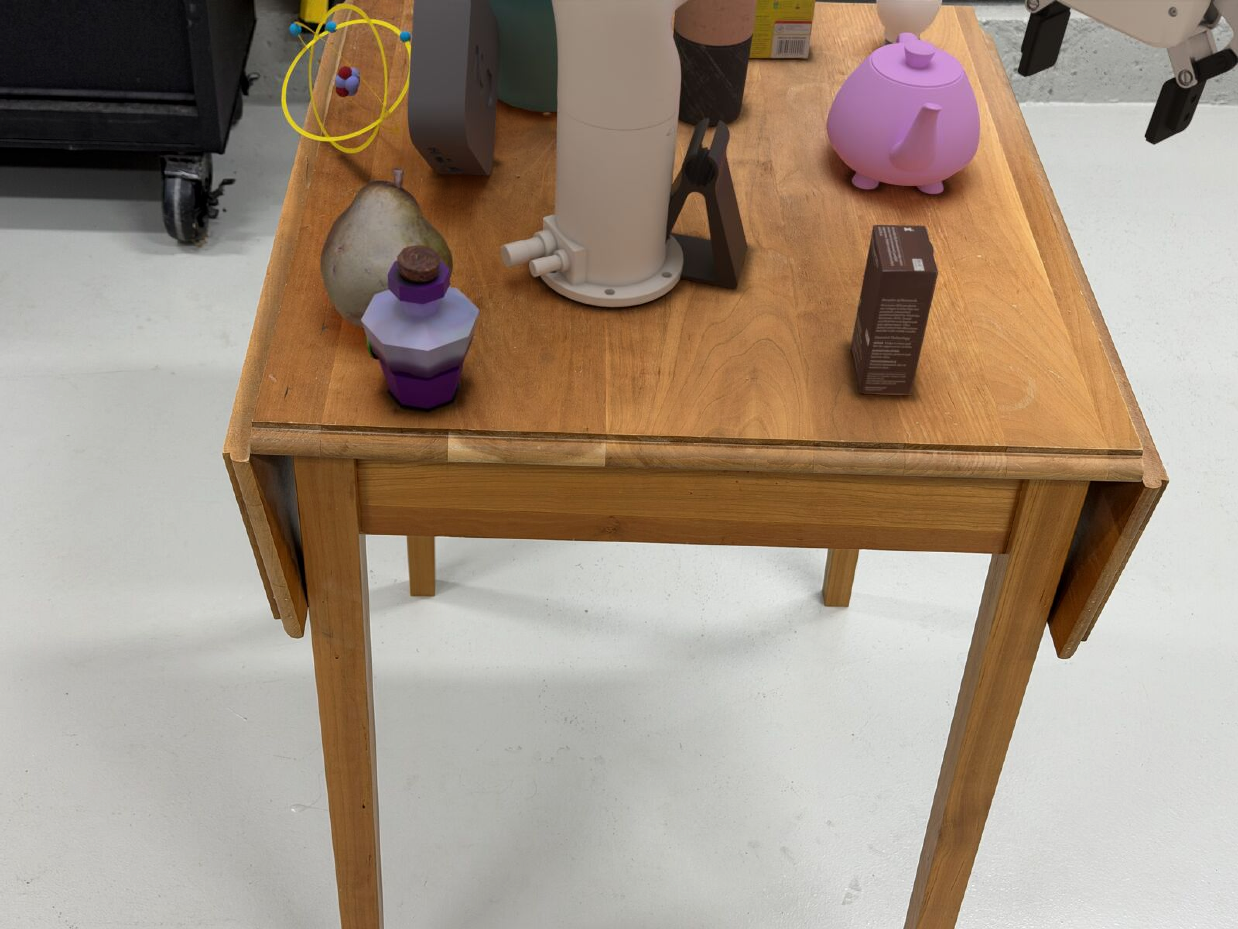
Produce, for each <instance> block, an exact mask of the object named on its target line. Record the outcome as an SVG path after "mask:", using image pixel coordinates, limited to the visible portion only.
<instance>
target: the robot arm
mask: <svg viewBox="0 0 1238 929" xmlns="http://www.w3.org/2000/svg"><path fill="white" fill-rule="evenodd" d="M687 1H688V0H552V5H553V10H554V16H555V23H556V33H557V48H558V86H557V99H558V106H557V112H556V148H555V150H556V152H555V157H556V158H555V186H554V188H555V191H554V193H555V196H554V213H553V214H549V215H546V216H543V218H542V230H539V231H536V232H534V234H533V236H532V237H530V238H528V239H524V240H523V239H520V240H517V241H516V240H515V241H513V242H509V243H505V244H503V245H501V246H500V257H501V260H502V262H503V265H504V266H505V267H506V268H508V269H510V268H513V267H517V266H521V265H524V264H527V263H528V269H529V272H530V274H531V275H532V277H533V278H537V277H540V278H541V280H542V281H543V282H544V283H545V284H546V285H547V286H548V287H549V288H551V289H552V290H554V291H555V292H556V293H558V294H560V295H562V296H564V297H565V298H567V299H569V300H572V301H575V302H578V303H582V304H586V305H590V306H596V307H603V308H604V307H605V308H606V307H607V308H608V307H609V308H625V307H631V306H637V305H638V306H639V305H643V304H645V303H648V302H652V301H655V300H656V299H658V298H660V297H663V296H664V295H666V294H667V293H668V292H670V291H671V290H672V289H673V288H674V287H675V286H676V285H677V284H678V283H679V281H680V279H681V278H680V277H681V273H682V269H683V262H684V259H683V252H682V249H681V247H680V245H679V243H678V242H677V241H676V239H675V238H674V237H673V236H672V235H671V234H670V236H669V238H668V240H667V242H666V244H665V241H666V230H667V219H668V208H669V203H670V200H671V192H672V184H673V182H674V180H673V179H674V169H675V159H676V158H675V157H676V147H677V146H676V145H677V136H678V126H679V118H678V114H679V100H680V88H681V66H680V59H679V54H678V51H677V48H676V45H675V42H674V38H673V29H672V28H673V27H672V25H673V24H672V23H673V22H672V21H673V19H674V15H675V11H676V9H677V8H678V7H679V6H681V5H682V4H684V3H685V2H687ZM1024 7H1025V9H1026V10H1027V12H1029V17H1028V21H1027V25H1026V28H1025V32H1024V36H1023V38H1022V43H1021V46H1020V53H1021V57H1020V60H1019V64H1018V67H1017V74H1018V75H1020V76H1022V77H1024V78H1027V77H1031V76H1034V75H1036V74H1039V73H1041V72H1043V71H1046V70H1048V69H1050V68H1053V67H1054V66H1055V65H1056V64H1057V61H1058V59H1059V56H1060V52H1061V48H1062V44H1063V41H1064V38H1065V34H1066V31H1067V28H1068V25H1069V21H1070V18H1071V14H1072V12H1071V10H1073V11H1075V12H1077V13H1079V14H1081V15H1083V16H1086V17H1088V18H1090V19H1092V20H1094V21H1096V22H1099V24H1100V23H1101V24H1103V25H1104V26H1106V27H1109V28H1111V29H1113V30H1115V31H1117V32H1119V33H1121V34H1124V35H1125V36H1127V37H1130V38H1132V39H1134V40H1136V41H1139V42H1141V43H1143V44H1145V45H1147V46H1150V47H1154V48H1157V49H1166V52H1167V54H1168V58H1169V61H1170V64H1171V65H1170V66H1171V68H1172V71H1173V77H1172V78H1169V79H1166V80H1165V81H1164V82H1163V84H1162V86H1161V89H1160V91H1159V94H1158V97H1157V99H1156V103H1155V104H1154V108H1153V110H1152V113H1151V115H1150V116H1151V117H1150V119H1149V122H1148V125H1147V128H1146V130H1145V132H1144V138H1145V141H1146V142H1147V143H1149V144H1151V145H1154V146H1155V145H1157V144H1159V143H1161V142H1164V141H1165V140H1167V139H1169V138H1171V137H1173V136H1176V135H1177V134H1180V133H1182V132H1185V131H1186V129H1187V128H1188V127H1189V126H1190V124H1191V122H1192V120H1193V118H1194V115H1195V112H1196V110H1197V108H1198V105H1199V103H1200V100H1201V97H1202V94H1203V92H1204V89H1205V86H1206V85H1207V82H1208V80H1210V79H1214V78H1215V77H1218V76H1220V75H1223V74H1225V73H1227V72H1229V71H1231V70H1234V69H1236V68H1238V0H1024ZM1222 18H1223V19H1224V20H1225V21H1226V23H1227V24H1228V26H1229V27H1230V28H1231V30H1232V31H1233V37H1232V39H1231V40H1230V42H1228V43H1227V45H1226V46H1225V47H1224V48H1222V49H1221V50H1218V48H1217V45H1216V41H1215V37H1214V35H1213V31H1212V30H1214V29H1215V28H1216V27H1217V26H1218V24H1219V23H1220V21H1221V19H1222Z"/></svg>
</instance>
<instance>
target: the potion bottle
mask: <svg viewBox="0 0 1238 929" xmlns="http://www.w3.org/2000/svg"><path fill="white" fill-rule="evenodd" d="M450 285H451V277H450V269H449V268H448V267H447V266H445V265H444V264H443V263H442V262H441V261H440V256H439V254H438V253H437V252H436V251H435V250H433V249H431V248H429V247H427V246H421V245H416V246H409V247H406V248H403V250H402V251H401V253H400V254H399V255H398V256H397V261H394V263H393V265H392V267H391V269H390V271H389V273H388V289H389V290H386V291H383V292H380V293H377V294H375V295H374V297H373V298H372V300H371V302H370V304H369V306H368V308H367V310H366V312H365V313H364V315H363V317H362V319H361V322H362V324H363V327H364V328H363V330H364V333H365V335H366V348H367V351H368V353H369V356H370V358H371V359H373V360H376V361H378V362H379V365H380V368H381V370H382V373H383V376H384V379H385V382H386V385H387V387H388V388H387V391H386V393H387V394H388V396H390V398H391V399H393V401H394V402H395V403H396V404H397V405H398V406H399V407H400V408H401V409H408V410H414V411H419V412H425V413H431V412H433V411H435V410H438V409H441V408H443V407H446V406H448V405H451V404H454V403H455V401H456V399H457V397H458V394H459V392H460V389H461V387H462V384H461V383H460V380H461V376H462V372H463V369H464V363H465V360H466V357H467V355H468V352H469V350H470V348H471V345H472V343H473V339H474V335H475V331H476V327H477V323H478V320H479V314H480V308H478V307H477V306H476V305H475V304H474V303H473V302H472V300H470V299H469V298H468V297H467V296H466V295H465V294H464V293H463V292H462V291H461V290H460V289H459V288H458V287H454V286H450Z"/></svg>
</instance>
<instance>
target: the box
mask: <svg viewBox="0 0 1238 929" xmlns="http://www.w3.org/2000/svg"><path fill="white" fill-rule="evenodd" d="M934 254H935V249H934V246H933V243H932V242H931V240H930V236H929V233H928V229H927V226H926V225H909V224H908V225H906V224H904V225H903V224H873V225H872V231H871V235H870V242H869V247H868V252H867V258H866V263H865V269H864V273H863V279H862V284H861V289H860V295H859V299H858V305H857V310H856V314H855V315H856V316H855V320H854V328H853V332H852V338H851V343H850V349H851V354H852V358H853V363H854V367H855V372H856V378H857V385H858V392H859V393H860V394H869V395H892V396H898V395H899V396H906V395H907V396H909V395H911V394H912V393H913V392H912V391H913V387H914V384H915V383H914V382H915V379H916V374H917V370H918V365H919V361H920V357H921V351H922V348H923V343H924V339H925V334H926V331H927V326H928V321H929V315H930V313H931V312H930V311H931V308H932V303H933V299H934V294H935V290H936V285H937V280H938V275H939V269H938V266H937V262H936V258H935V256H934Z"/></svg>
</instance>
